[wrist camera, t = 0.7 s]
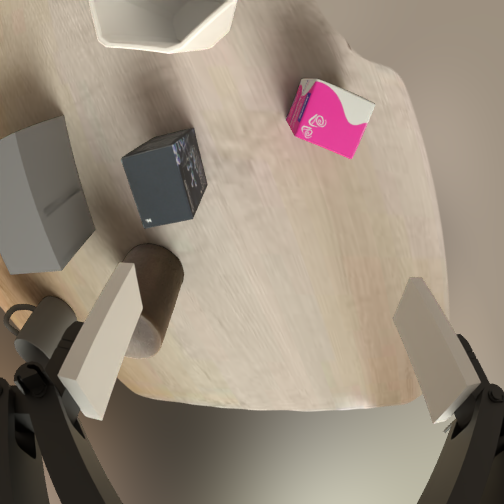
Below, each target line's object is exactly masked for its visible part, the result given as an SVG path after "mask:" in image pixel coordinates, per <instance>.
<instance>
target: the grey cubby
mask: <svg viewBox="0 0 504 504" xmlns="http://www.w3.org/2000/svg"><path fill="white" fill-rule="evenodd" d="M94 231H95V227H94V224H93V221H92V218H91V215H90V212H89V209H88V206H87V203H86V200H85V196H84V193H83V190H82V186H81V183H80V179H79V176H78V172H77V169H76V165H75V161H74V157H73V153H72V149H71V145H70V141H69V137H68V132H67V128H66V123H65V118H64V115H62V116H59V117H56V118H53V119H50V120H47V121H44V122H41V123H38V124H35V125H33V126H30V127H27V128H25V129H22V130H19V131H17V132H15V133H12V134H10V135H8V136H6V137H4V138H2V139H0V254H1V256H2V258H3V260H4V262H5V264H6V266H7V269H8V271H9V273H10V275H13V274H25V273H38V272H51V271H62V270H63V268H64V267H65V266H66V265H67V263H68V262H69V261H70V260H71V258H72V257H73V256H74V255H75V254H76V252H77V251H78V250H79V249H80V248H81V246H82V245H83V244H84V243H85V242H86V240H87V239H88V238H89V237H90V236H91V235H92V233H93V232H94Z"/></svg>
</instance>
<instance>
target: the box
mask: <svg viewBox="0 0 504 504" xmlns="http://www.w3.org/2000/svg"><path fill="white" fill-rule="evenodd" d="M121 162H122V164H123V167H124V170H125V173H126V176H127V179H128V182H129V185H130V188H131V191H132V194H133V197H134V200H135V203H136V206H137V209H138V212H139V215H140V218H141V221H142V224H143V227H144V229H146V228H150V227H155V226H160V225H165V224H170V223H176V222H181V221H186V220H190V219H193V217H194V215H195V213H196V210H197V208H198V206H199V203H200V201H201V199H202V196H203V194H204V192H205V189H206V187H207V181H206V177H205V173H204V169H203V165H202V161H201V157H200V153H199V149H198V144H197V140H196V136H195V130H194V128H191V129H186V130H182V131H178V132H174V133H170V134H166V135H162V136H158V137H154V138H152V139H150V140H149V141H147V142H146V143H144V144H142V145H141V146H139V147H137V148H136V149H134V150H133V151H131V152H130V153H128V154H126V155H125V156H123V157H122V158H121Z"/></svg>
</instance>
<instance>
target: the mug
mask: <svg viewBox="0 0 504 504" xmlns="http://www.w3.org/2000/svg"><path fill="white" fill-rule="evenodd" d="M17 310H30V311H32V312H33V313H32V314H31V315H30V317H29V318H28V320H27V321H26V323H25V324H24V326H23V328H22V329H21V331H20V332H19V331H18V330H16V329H15V328H14V327H12V326H11V325H10V324H9V318H10V317H11V315H12V314H13V313H14V312H15V311H17ZM75 321H77V318H76V315H75V313H74V312H73V310H72V309H71V308H70V307H69V306H68V305H67V304H66V303H65V302H64V301H62V300H60V299H58V298H56V297H52V296H48V297H45V298H44V299H43V300H42V301H41V302H40V303H39V304H38V306H37V307H35V306H33V305H29V304H17V305H14V306H12V307H11V308H10V309H9V310H8V311H7V312H6V314H5V316H4V325H5V326H6V328H7V329H8V330H10V331H11V332H12V333H13V334H14V335H16V336H17V338H16V339H15V342H14V343H15V344H14V345H15V348H16V350H17V352H18V353H19V355H20V356H21V357H22V358H23V359H24V360H25V361H26V362H31V361H33V362H38V363H39V364H41V365H42V366H43V368H44V370H45V368H46V366H47V364H48V362H49V360H50V358H51V356H52V354H53V352H54V350H55V349H56V348H57V345H58V343H59V341H60V340H61V338H62V336H63V334H64V332H65V330H66V329H67V328H68V327H69V326H70V325H71V324H72V323H73V322H75Z"/></svg>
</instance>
